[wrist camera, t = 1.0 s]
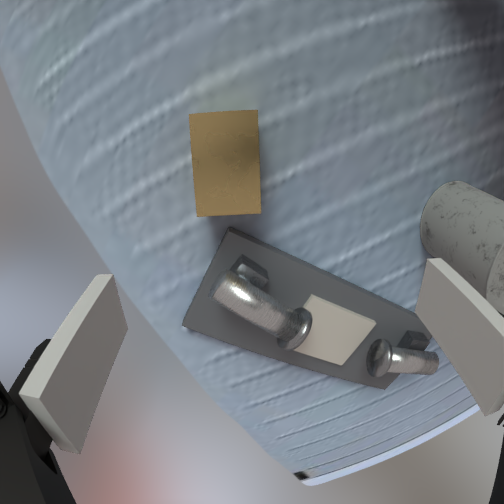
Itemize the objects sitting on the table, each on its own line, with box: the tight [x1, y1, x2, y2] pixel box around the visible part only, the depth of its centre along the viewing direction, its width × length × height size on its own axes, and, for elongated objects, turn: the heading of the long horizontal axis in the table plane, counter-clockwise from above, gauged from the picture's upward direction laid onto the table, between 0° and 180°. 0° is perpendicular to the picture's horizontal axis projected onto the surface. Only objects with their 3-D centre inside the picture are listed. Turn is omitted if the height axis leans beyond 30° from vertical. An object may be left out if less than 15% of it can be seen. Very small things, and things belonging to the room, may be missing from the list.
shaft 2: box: [366, 330, 439, 377], centre depth 34 cm, size 9×4×6 cm, turn 73°
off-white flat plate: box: [294, 294, 376, 365], centre depth 34 cm, size 7×9×1 cm
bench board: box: [182, 227, 432, 390], centre depth 35 cm, size 12×30×1 cm, turn 63°
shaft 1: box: [208, 254, 313, 351], centre depth 29 cm, size 9×4×6 cm, turn 53°
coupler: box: [189, 110, 261, 217], centre depth 25 cm, size 8×5×5 cm, turn 2°
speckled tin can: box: [420, 181, 504, 315], centre depth 25 cm, size 10×10×12 cm
